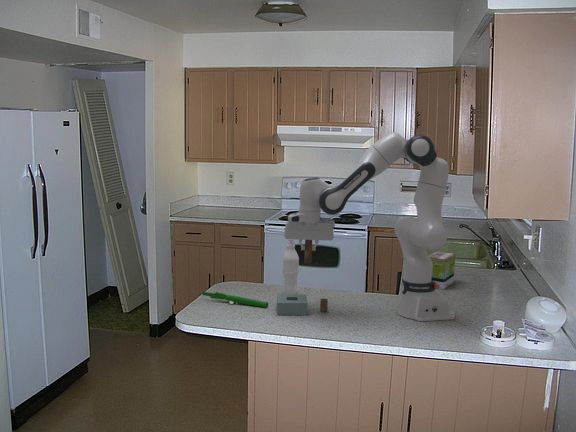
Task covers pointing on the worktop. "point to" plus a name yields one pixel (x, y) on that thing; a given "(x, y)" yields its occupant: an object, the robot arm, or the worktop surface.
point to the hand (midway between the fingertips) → (308, 250)
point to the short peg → (323, 305)
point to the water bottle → (290, 269)
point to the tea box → (442, 268)
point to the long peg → (308, 251)
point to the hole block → (292, 304)
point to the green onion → (236, 299)
